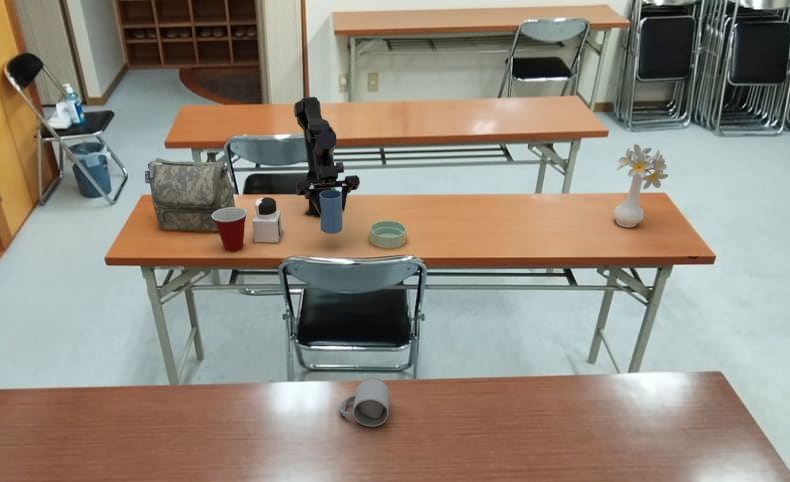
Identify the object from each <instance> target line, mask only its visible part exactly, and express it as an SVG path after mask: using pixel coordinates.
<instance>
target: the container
mask: <svg viewBox="0 0 790 482" xmlns="http://www.w3.org/2000/svg"><path fill="white" fill-rule="evenodd" d="M254 207H255V214H254V216H253V218H252V231H253V232H252V233H253V240H254V242H255V243H272V244H273V243H277V244H278V243H279V241H280V238H281V235H282V232H283V227H282V226H283V225H282V213H281V210H278V209H277V201H276V199H275V198H274V197H267V196H266V197H265V196H264V197H259V198H258V199H256V201H254Z"/></svg>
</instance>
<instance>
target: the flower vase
mask: <svg viewBox="0 0 790 482" xmlns="http://www.w3.org/2000/svg"><path fill="white" fill-rule="evenodd" d="M651 151H652V148H651V147H645V148H643V149H642V148H641V146H640V145H639V144H637V143H635V144H634V145H633V150H630V148H629V147H628V148H627V149H626V151H625V156H622V157H619V159H618V161H617V162H618V163H619V166H618V167H617V168H616V171H619V170H621V169H622V168H624V167H626V166H629V167H630V168H631V169H630V170H629V171H628V173H627V176H628V177H630V178H631V177H632V181H631V184H630V187H629V191H628V194H627V196H626V198H625V199H624V200H623V201H622V202H621V203H619V204H618V205H616V207H615V208H614V209H613V212H612V215H613V218H614V219H615V222H616V224H617V225H618V226H620V227H623V228H629V229H630V228H634V227H636V226H637V225H638V224H639V223H641V222H642V221H643V220H644V218H645V211H644V210H643V207H642V206H641V205H640V193H641V189H642V188H643V190H647V189H649V187H650V186H653V187H654V188H656V189H659V188H661V186H662V183H661V181H660V180H665V179H667V178H668V177H669V174H667V173H664V171H665V170H667V164H666V162H665V161H666V159H665V158H664V157H663V154H661V152H660V149H657V151H656V153H655V154H653V156H650V155H648V154H649V153H650V152H651ZM650 170H652V171H653V172H651V171H650ZM647 173H648V175H647ZM643 181H645V183H644V184H643ZM642 184H643V187H642Z"/></svg>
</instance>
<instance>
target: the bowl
mask: <svg viewBox="0 0 790 482" xmlns="http://www.w3.org/2000/svg"><path fill="white" fill-rule="evenodd" d="M406 241H407V227H406V226H405V225H404V224H403V223H401V222H399V221H395V220H381V221H380V220H379V221H376V222H374V223H372V224H371V226H370V227H369V243H371V244H372V245H373V246H375V247H377V248H380V249H396V248H400V247H401V246H403V245H404V244H405V243H406Z"/></svg>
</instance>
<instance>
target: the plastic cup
mask: <svg viewBox="0 0 790 482" xmlns="http://www.w3.org/2000/svg"><path fill="white" fill-rule="evenodd" d="M247 215H248V211H247V209H245V208H243V207H240V206H239V207H238V206H235V207H229V208H223V209H220V210H217V211H215V212H214V213H213V214H212V218H213V219H214V221H215V223H216V226H217V228H218V231H217V232H218V234H219V237H220V241H221V243H222V246H223V248H224V250H225V251H226V252H231V253H233V252H238V251H240V250H242V249H243V246H244V238H245V227H246V217H247Z"/></svg>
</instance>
